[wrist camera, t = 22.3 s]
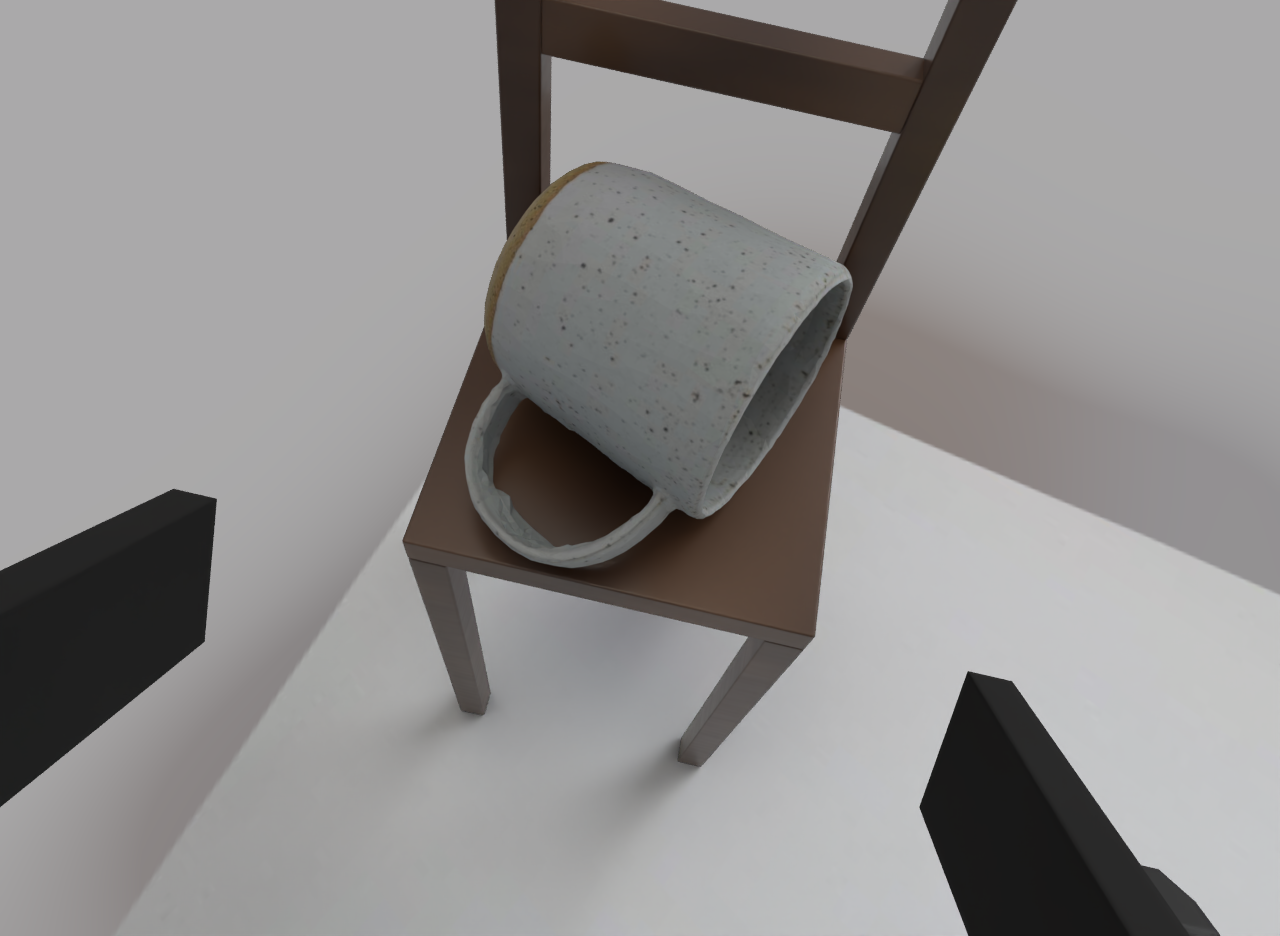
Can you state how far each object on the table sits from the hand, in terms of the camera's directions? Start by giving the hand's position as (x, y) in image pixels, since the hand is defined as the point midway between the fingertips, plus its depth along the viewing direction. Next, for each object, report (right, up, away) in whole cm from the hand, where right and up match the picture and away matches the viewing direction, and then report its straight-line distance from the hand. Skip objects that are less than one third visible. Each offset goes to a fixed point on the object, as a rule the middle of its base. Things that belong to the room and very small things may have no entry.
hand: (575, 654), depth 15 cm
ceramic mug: (+1, +4, +12) cm, 13 cm away
